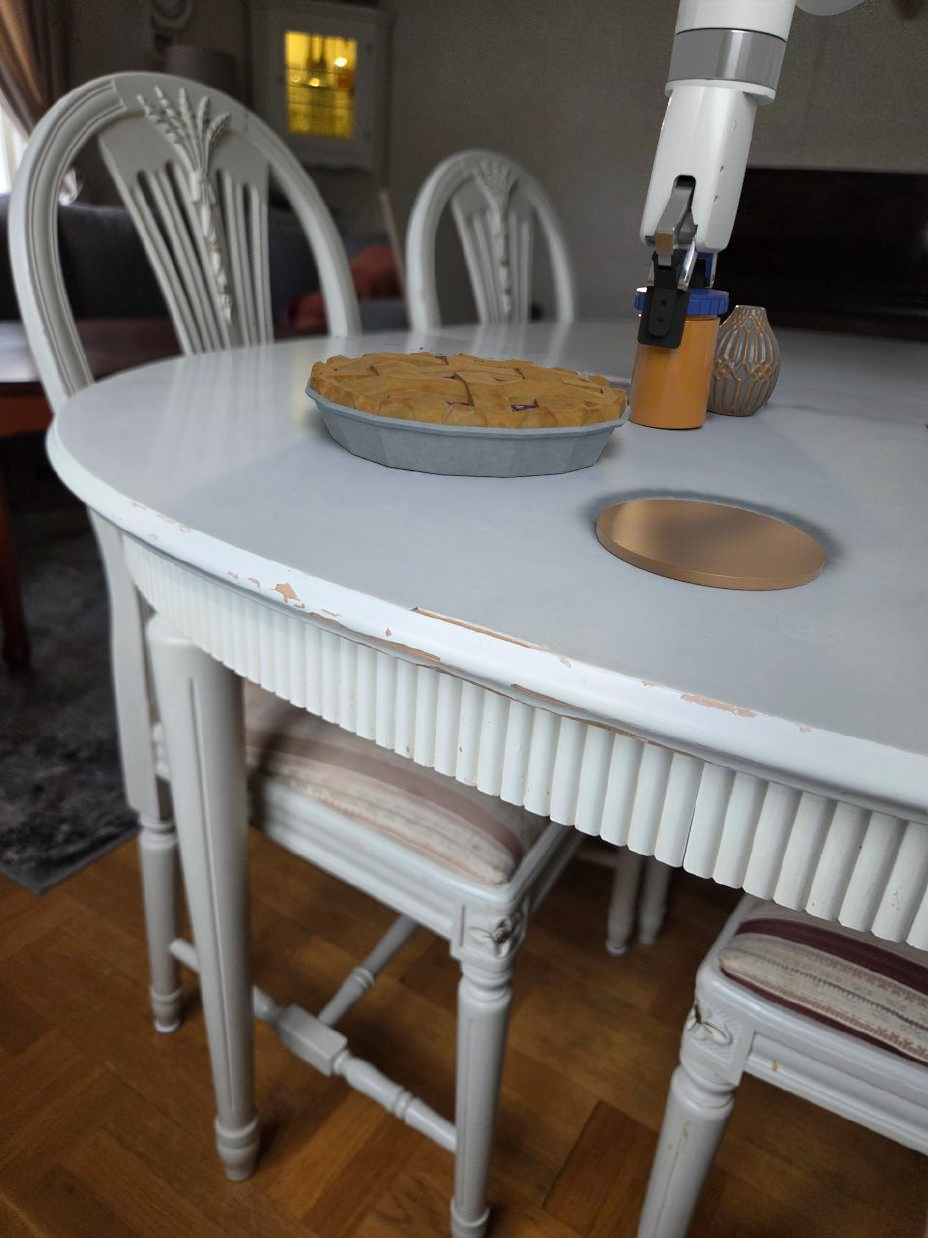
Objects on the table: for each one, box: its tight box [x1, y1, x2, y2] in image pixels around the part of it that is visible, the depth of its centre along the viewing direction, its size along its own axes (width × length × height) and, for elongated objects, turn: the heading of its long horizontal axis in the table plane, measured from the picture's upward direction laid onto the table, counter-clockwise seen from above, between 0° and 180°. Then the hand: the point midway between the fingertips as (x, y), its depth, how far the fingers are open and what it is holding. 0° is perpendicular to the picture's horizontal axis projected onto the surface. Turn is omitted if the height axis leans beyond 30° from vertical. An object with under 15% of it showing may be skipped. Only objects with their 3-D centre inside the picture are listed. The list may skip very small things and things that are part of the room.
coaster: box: [595, 498, 826, 591], centre depth 41 cm, size 11×11×1 cm
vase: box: [707, 304, 781, 417], centre depth 72 cm, size 7×7×9 cm
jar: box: [627, 313, 721, 430], centre depth 66 cm, size 6×6×9 cm
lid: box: [633, 287, 730, 316], centre depth 64 cm, size 7×7×1 cm
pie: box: [304, 351, 631, 478], centre depth 56 cm, size 22×22×5 cm
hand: (670, 339), depth 65 cm, fingers closed on lid, 6 cm apart
